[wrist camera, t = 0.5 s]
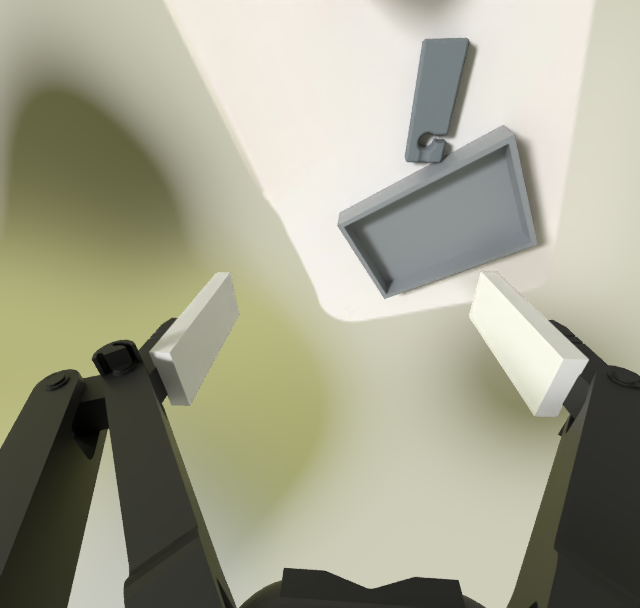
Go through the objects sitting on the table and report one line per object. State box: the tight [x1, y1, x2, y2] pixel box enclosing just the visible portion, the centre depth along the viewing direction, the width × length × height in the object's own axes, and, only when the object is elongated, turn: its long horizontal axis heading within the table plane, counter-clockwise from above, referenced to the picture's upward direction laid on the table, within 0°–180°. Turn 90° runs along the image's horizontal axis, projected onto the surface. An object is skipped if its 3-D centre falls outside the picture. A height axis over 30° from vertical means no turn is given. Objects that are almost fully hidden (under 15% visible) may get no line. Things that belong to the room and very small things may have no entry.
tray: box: [337, 125, 538, 299], centre depth 38 cm, size 20×14×4 cm
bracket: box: [405, 38, 469, 163], centre depth 31 cm, size 4×10×2 cm, turn 2°
